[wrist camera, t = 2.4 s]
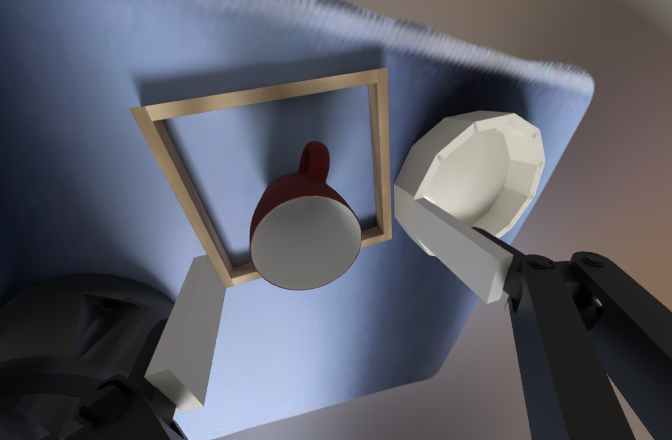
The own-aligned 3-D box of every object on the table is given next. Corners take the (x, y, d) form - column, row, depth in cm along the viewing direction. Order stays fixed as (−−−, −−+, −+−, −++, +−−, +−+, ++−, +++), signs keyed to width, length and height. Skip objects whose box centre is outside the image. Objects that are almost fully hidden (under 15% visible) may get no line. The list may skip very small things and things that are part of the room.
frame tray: (227, 276, 27) (225, 288, 26) (141, 107, 18) (129, 108, 17) (384, 230, 31) (391, 238, 29) (377, 69, 22) (387, 67, 20)
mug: (254, 124, 21) (251, 145, 13) (339, 138, 24) (383, 162, 15) (251, 228, 26) (247, 294, 17) (323, 229, 28) (350, 287, 20)
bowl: (395, 254, 33) (411, 274, 30) (392, 128, 25) (416, 134, 21) (495, 223, 36) (521, 237, 33) (524, 101, 28) (564, 102, 24)
